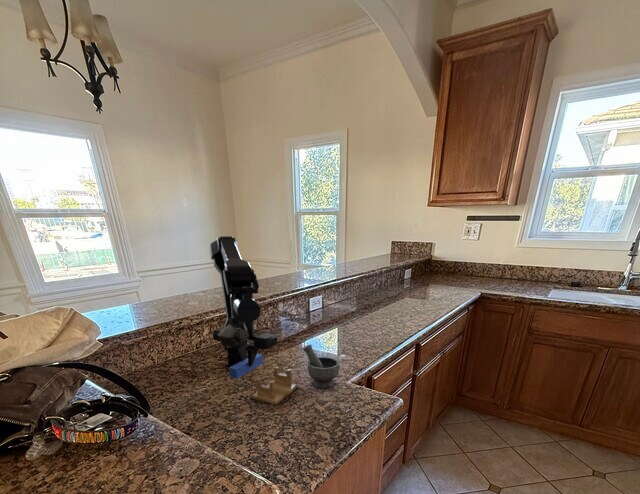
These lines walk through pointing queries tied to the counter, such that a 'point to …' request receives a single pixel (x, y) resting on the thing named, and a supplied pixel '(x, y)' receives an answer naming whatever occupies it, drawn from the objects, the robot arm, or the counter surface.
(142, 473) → the counter surface
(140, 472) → the counter surface
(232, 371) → the blue rectangular block
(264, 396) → the holder
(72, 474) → the counter surface
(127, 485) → the counter surface
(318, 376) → the mortar and pestle
